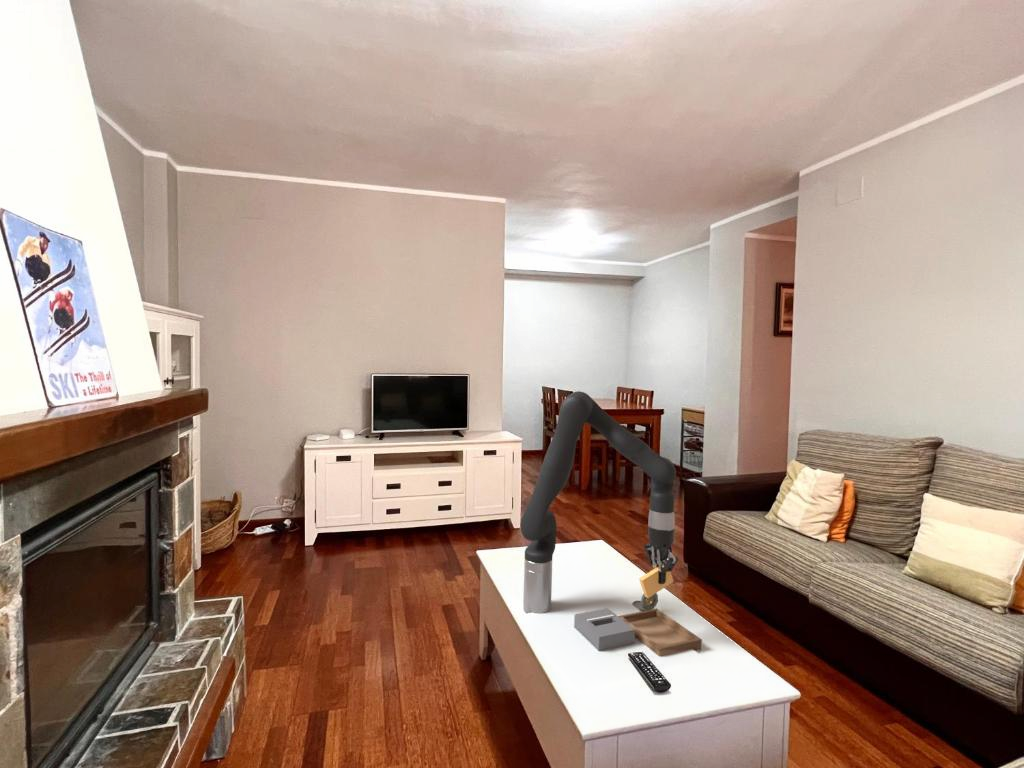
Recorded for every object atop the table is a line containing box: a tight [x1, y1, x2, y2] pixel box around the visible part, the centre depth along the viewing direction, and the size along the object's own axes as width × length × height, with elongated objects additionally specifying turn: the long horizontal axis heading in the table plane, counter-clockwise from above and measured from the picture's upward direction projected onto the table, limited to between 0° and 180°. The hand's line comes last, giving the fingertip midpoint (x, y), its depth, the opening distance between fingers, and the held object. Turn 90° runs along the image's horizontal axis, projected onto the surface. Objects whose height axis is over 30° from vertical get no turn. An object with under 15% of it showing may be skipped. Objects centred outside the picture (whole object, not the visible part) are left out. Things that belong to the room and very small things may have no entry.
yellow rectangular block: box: [638, 565, 675, 598], centre depth 152 cm, size 2×6×10 cm
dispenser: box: [573, 607, 636, 652], centre depth 151 cm, size 14×12×5 cm
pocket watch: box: [631, 592, 659, 612], centre depth 170 cm, size 8×8×10 cm
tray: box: [617, 608, 703, 657], centre depth 153 cm, size 20×15×3 cm
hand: (659, 582), depth 152 cm, fingers closed on yellow rectangular block, 1 cm apart
